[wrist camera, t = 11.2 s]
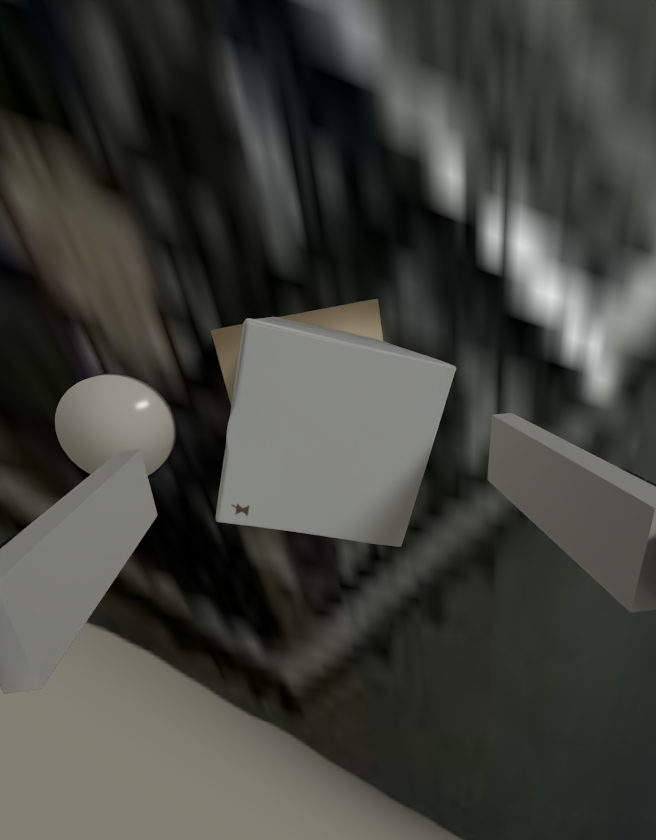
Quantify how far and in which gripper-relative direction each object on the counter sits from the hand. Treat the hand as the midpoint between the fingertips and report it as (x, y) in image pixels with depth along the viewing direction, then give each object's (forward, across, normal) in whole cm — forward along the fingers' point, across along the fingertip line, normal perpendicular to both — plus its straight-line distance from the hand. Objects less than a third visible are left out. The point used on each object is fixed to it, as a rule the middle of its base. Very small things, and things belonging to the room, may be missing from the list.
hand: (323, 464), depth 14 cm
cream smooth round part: (+21, -18, -4) cm, 28 cm away
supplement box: (+17, 0, 0) cm, 17 cm away
